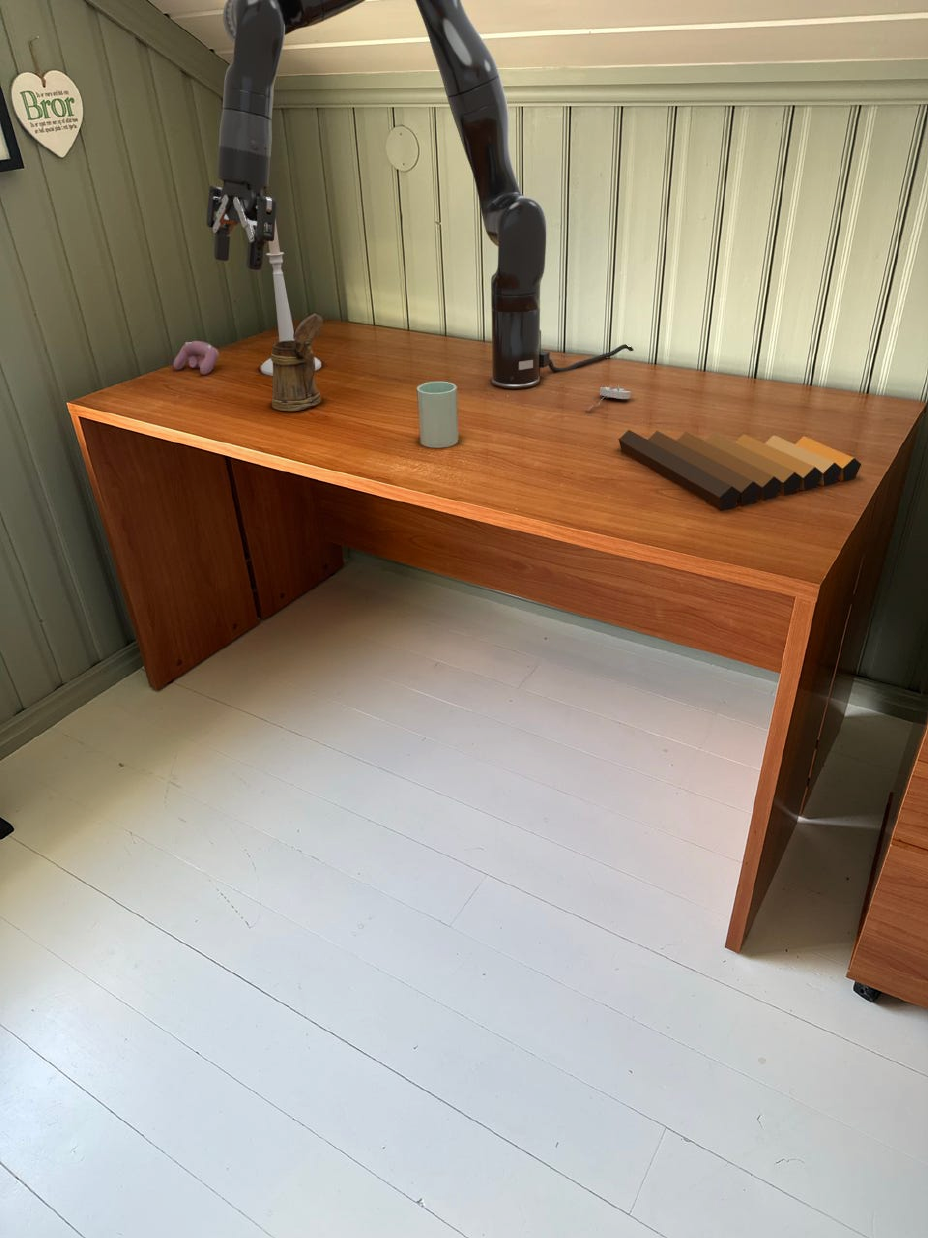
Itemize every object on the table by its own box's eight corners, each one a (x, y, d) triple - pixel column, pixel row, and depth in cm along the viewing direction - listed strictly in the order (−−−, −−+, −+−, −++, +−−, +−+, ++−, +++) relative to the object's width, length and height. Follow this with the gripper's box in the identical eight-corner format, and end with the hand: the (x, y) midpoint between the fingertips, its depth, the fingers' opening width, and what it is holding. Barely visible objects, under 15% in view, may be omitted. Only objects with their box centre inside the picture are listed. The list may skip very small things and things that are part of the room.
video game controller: (218, 379, 181) (224, 345, 179) (202, 374, 177) (207, 340, 176) (187, 373, 185) (192, 340, 184) (170, 368, 181) (175, 335, 180)
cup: (435, 431, 144) (432, 379, 139) (466, 438, 141) (464, 384, 136) (412, 443, 140) (408, 389, 135) (443, 450, 137) (441, 395, 132)
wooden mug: (307, 420, 151) (293, 316, 142) (263, 405, 159) (247, 306, 150) (345, 407, 157) (334, 306, 147) (300, 393, 165) (287, 297, 155)
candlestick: (333, 363, 182) (315, 211, 166) (294, 379, 173) (272, 219, 157) (288, 357, 188) (267, 208, 172) (248, 371, 179) (222, 217, 163)
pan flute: (617, 452, 133) (717, 511, 114) (619, 431, 132) (720, 488, 112) (744, 426, 141) (858, 477, 122) (747, 406, 140) (863, 455, 120)
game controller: (633, 395, 157) (634, 381, 156) (619, 415, 148) (620, 400, 147) (603, 392, 159) (604, 379, 158) (587, 412, 150) (588, 398, 149)
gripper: (295, 158, 125) (284, 274, 131) (237, 149, 132) (230, 259, 139) (253, 148, 119) (244, 269, 126) (195, 139, 127) (190, 254, 133)
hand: (237, 264), depth 132 cm, fingers open, 8 cm apart
